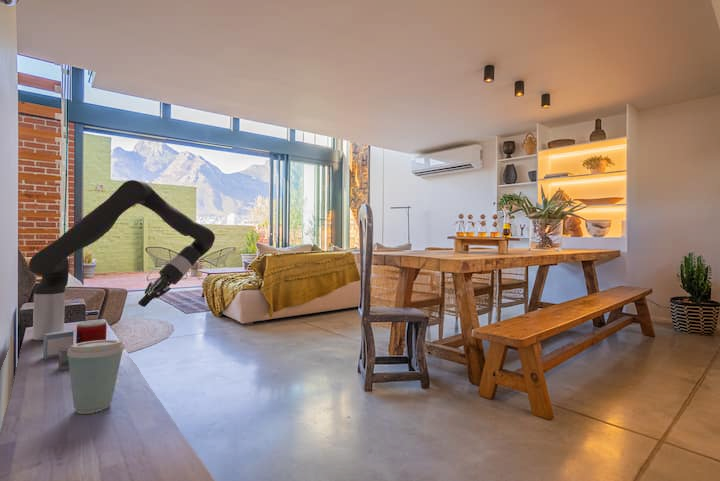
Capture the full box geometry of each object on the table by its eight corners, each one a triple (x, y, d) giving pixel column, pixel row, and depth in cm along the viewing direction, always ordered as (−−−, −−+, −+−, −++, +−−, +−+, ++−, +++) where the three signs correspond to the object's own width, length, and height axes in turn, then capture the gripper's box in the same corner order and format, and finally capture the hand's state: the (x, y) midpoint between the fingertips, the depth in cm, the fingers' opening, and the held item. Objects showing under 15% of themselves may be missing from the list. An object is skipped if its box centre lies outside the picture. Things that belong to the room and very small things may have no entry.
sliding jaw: (38, 353, 123) (38, 330, 124) (64, 349, 129) (64, 327, 129) (46, 359, 118) (46, 335, 118) (73, 354, 123) (73, 331, 123)
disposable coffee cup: (65, 405, 85) (67, 339, 85) (121, 394, 92) (122, 333, 92) (64, 423, 77) (66, 350, 77) (125, 410, 83) (127, 342, 83)
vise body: (55, 368, 110) (55, 349, 110) (88, 361, 117) (89, 343, 117) (61, 372, 106) (61, 353, 106) (95, 365, 113) (96, 347, 113)
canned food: (111, 353, 125) (112, 320, 125) (92, 360, 117) (92, 325, 118) (90, 352, 126) (91, 319, 126) (69, 359, 118) (70, 324, 118)
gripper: (160, 262, 146) (125, 296, 136) (178, 263, 138) (141, 300, 128) (174, 275, 150) (140, 309, 140) (191, 277, 142) (157, 313, 132)
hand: (141, 305), depth 134 cm, fingers closed
